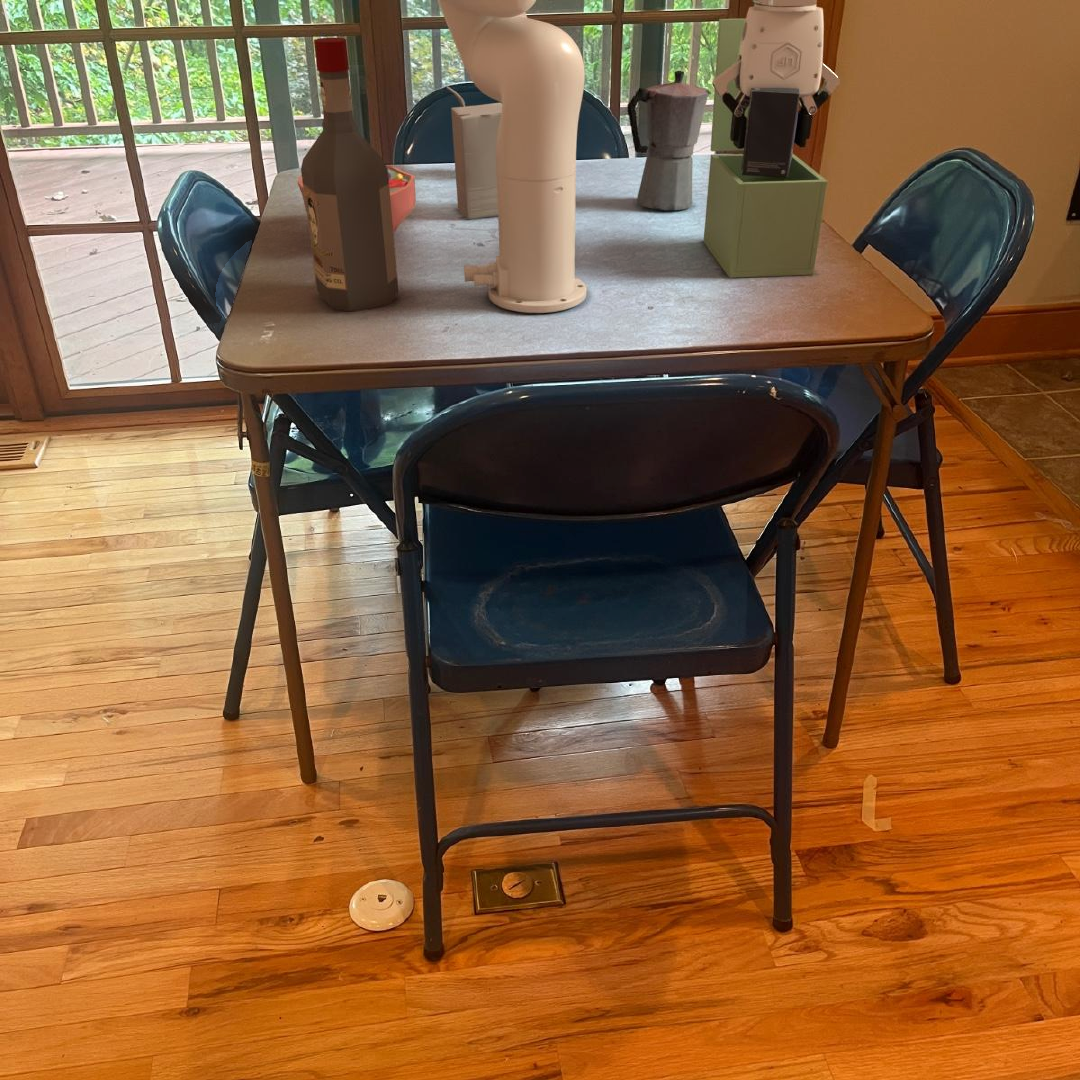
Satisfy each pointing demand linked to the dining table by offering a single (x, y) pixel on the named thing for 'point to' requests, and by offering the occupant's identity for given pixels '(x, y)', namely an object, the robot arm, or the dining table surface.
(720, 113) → the lid
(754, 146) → the small box
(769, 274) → the chest
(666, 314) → the dining table surface
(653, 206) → the moka pot
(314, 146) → the liquor
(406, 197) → the cell model
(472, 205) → the cosmetic box
